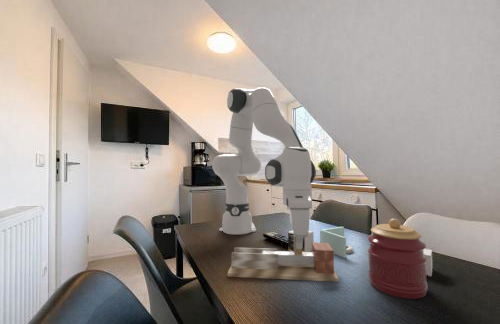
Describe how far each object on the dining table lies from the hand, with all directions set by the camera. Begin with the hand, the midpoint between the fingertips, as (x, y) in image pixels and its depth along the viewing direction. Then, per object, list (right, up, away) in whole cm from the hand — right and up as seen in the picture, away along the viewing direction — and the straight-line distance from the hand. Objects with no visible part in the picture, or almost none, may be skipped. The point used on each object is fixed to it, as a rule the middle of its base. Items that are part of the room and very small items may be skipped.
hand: (297, 243), depth 70 cm
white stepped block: (-2, -6, 0) cm, 7 cm away
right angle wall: (+21, -9, +17) cm, 29 cm away
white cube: (+37, -8, -1) cm, 38 cm away
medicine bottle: (+5, -9, +17) cm, 20 cm away
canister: (+24, -8, -10) cm, 27 cm away
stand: (-5, -8, 0) cm, 10 cm away
